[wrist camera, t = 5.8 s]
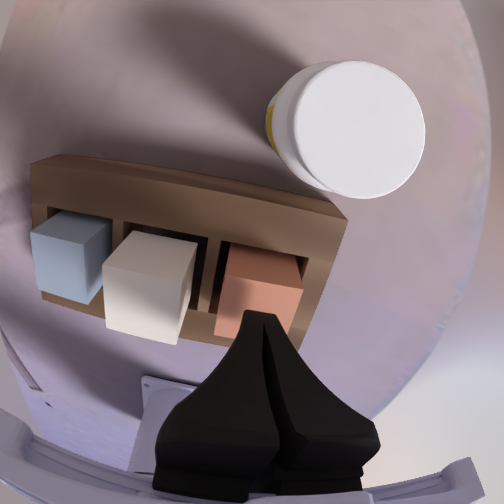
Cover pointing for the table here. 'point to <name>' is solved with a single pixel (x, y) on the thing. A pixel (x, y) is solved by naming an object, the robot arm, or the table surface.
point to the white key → (148, 286)
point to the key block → (194, 225)
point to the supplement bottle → (347, 128)
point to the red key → (257, 287)
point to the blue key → (71, 254)
